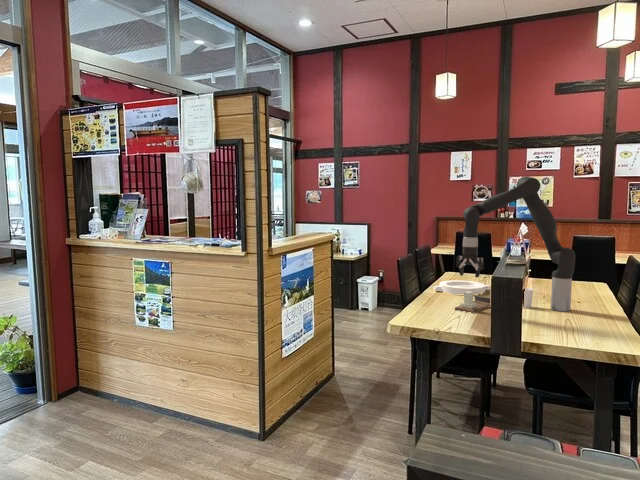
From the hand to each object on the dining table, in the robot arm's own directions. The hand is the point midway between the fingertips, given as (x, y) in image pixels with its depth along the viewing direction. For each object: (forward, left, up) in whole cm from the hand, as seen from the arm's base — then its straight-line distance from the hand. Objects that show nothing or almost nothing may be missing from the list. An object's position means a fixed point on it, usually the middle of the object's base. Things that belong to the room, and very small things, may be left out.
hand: (469, 276), depth 234 cm
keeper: (0, 0, -16) cm, 16 cm away
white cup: (-28, +18, -18) cm, 38 cm away
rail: (-7, 0, -18) cm, 19 cm away
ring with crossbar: (-43, -27, -19) cm, 54 cm away
